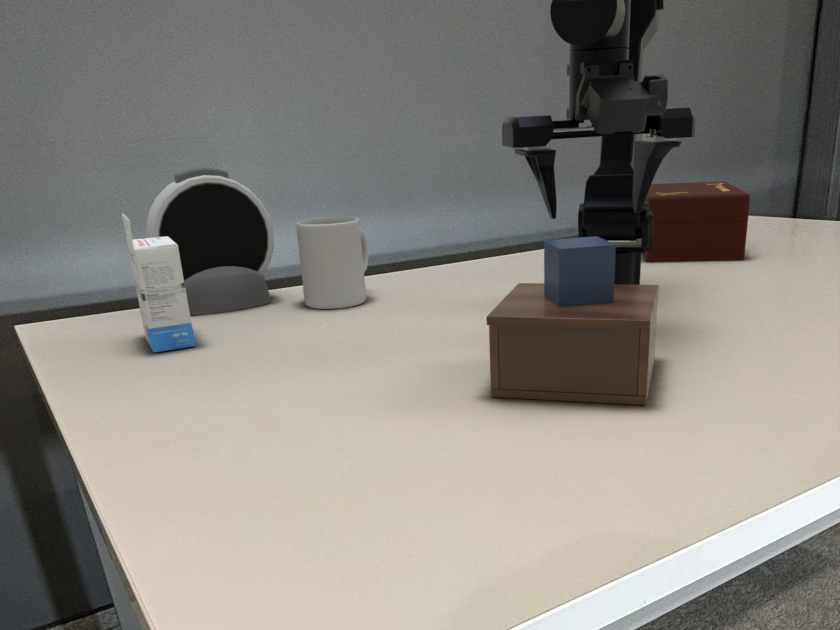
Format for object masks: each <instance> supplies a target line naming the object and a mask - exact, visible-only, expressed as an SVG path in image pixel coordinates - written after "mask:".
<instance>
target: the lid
mask: <svg viewBox="0 0 840 630" xmlns="http://www.w3.org/2000/svg"><path fill="white" fill-rule="evenodd" d="M657 295H658V296H659V284H640V285H624V284H614V302H609V303H598V304H586V305H574V306H562V307H559V306H558V305H556V304H555V303H554V302H553V301H551V300H550V299H549V298H548V297H546V296H545V295H544V282H543V283H542V282H541V283H538V282H537V283H534V282H532V283H531V282H518V283H517V284H516V285H515V286H514V288H512V289H511V290H510V291H509V293H508V294H506V295H505V296H504V298H503V299H502V300H501V301H500V302H499V303H498V304H497V305H496V306H495V307H494V308H493V309H492V310H491V311H490V312H489V314H487V315H486V325H487V326H489V325H497V326H532V327H568V328H604V329H639V330H649V329H650V326H651V322H652V317H653V313H654V308H655V304H656V300H657Z"/></svg>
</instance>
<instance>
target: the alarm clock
mask: <svg viewBox="0 0 840 630" xmlns="http://www.w3.org/2000/svg"><path fill="white" fill-rule="evenodd" d="M229 176H230V175H229V172H228V171H227V170H223V169H219V168H213V167H206V166H205V167H203V166H202V167H201V166H197V167H192V168H191V167H190V168H188V169H184V170H181V171H179V172H177V173H175V174H174V175H173V179H174V181H173V182H171V183H168V185H166V187H164V188H163V189H162V190H161V191H160V193H158V194H157V196H156V197H155V199H154V201H153V203H152V205H151V206H150V208H149V211H148V216H147V219H146V220H147V221H146V225H145V228H146V238H154V237H166V236H168V237H169V238H170V239H171V240H173V241H174V242H175V243H176V244H177V245H178V249H179V255H180V261H181V267H182V272H183V278H184V284H185V289H186V295H187V301H188V306H189V312H190V316H201V315H211V314H219V313H227V312H234V311H239V310H245V309H246V310H247V309H252V308H255V307H259V306H260V307H261V306H264V305H268V304H271V303H272V298H271V293H270V290H269V287H268V284H267V281H266V277H265V276H264V274H265V273H266V271H267V269H268V267H269V266H270V263H271V261H272V257H273V253H274V249H275V232H274V227H273V224H272V219H271V216H270V214H269V213H268V211H267V209H266V207H265V205H264V203H263V202H262V201H261V200H260V199H259V197H258V196H256V194H255V193H254V192H253V191H252V190H251V189H249V188H248V187H247V186H245V185H243V184H242V183H240V182H238V181H237V180H234V179H231V178H230V177H229Z"/></svg>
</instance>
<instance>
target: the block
mask: <svg viewBox="0 0 840 630" xmlns="http://www.w3.org/2000/svg"><path fill="white" fill-rule="evenodd" d="M611 242H612V241H606V240H604V239H602V238H600V237H597V236H594V237H580V238H579V237H569V238H567V237H566V238H556V239H554V238H553V239H544V241H543V283H544V295H545V296H546V297H548V298H549V299H550V300H551V301H553V302H554V303H555V304H556V305H558V306H559V307H562V306H574V305H586V304H598V303H609V302H614V281H615V253H616V245H615V244H613V243H611Z"/></svg>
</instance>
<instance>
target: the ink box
mask: <svg viewBox="0 0 840 630" xmlns="http://www.w3.org/2000/svg"><path fill="white" fill-rule="evenodd" d="M121 216H122V218H121V219H122V223H123V229H124V233H125V238H126V244H127V249H128V254H129V259H130V264H131V269H132V275H133V281H134V285H135V290H136V296H137V301H138V305H139V311H140V315H141V320H142V325H143V330H144V336H145V340H146V341H147V343H148V346H149V347H150V349H151V351H152V353H161V352H167V351H174V350H180V349H186V348H194V347H196V340H195V339H196V338H195V334H194V328H193V322H192V317H191V315H190V312H189V306H188V301H187V295H186V289H185V284H184V278H183V272H182V267H181V261H180V255H179V249H178V245H177V244H176V243H175V242H174V241H173V240H171V239H170V238H169V237H168V236H166V237H154V238H147V237H145V238H136V239H133V234H132V229H131V227H132V226H131V220H130V218H128V216H127V215H126V214H124V213H123V212H122V213H121Z"/></svg>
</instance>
